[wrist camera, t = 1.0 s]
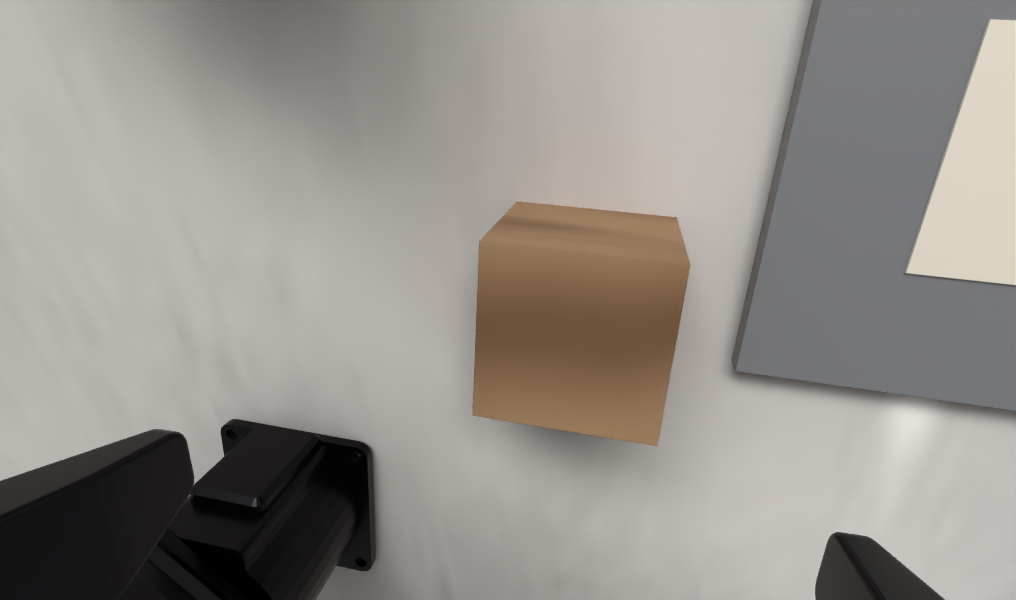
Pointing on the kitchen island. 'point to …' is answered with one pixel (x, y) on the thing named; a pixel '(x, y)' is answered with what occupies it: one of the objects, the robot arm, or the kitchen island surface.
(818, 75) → the baseplate
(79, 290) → the kitchen island surface
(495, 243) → the walnut block
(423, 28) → the kitchen island surface
